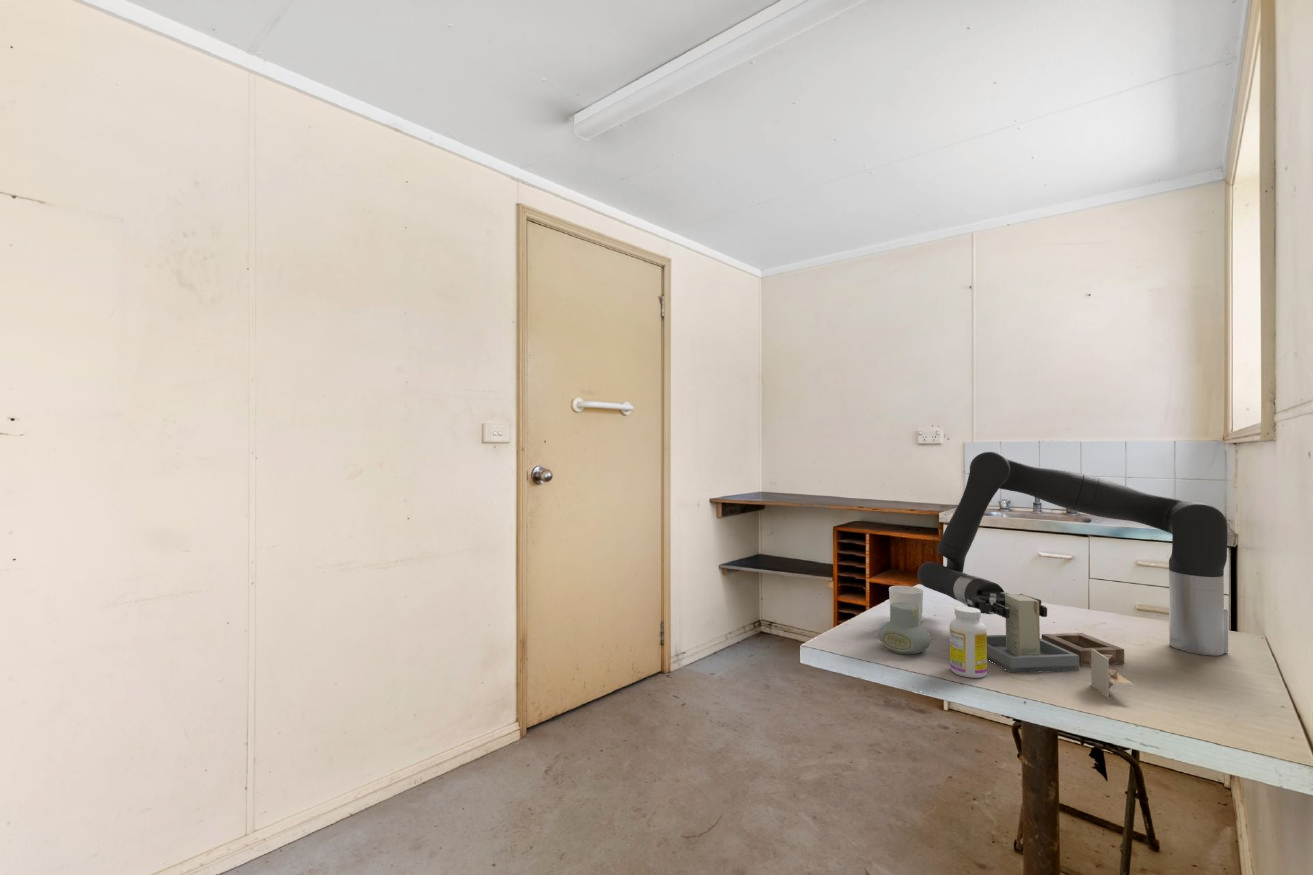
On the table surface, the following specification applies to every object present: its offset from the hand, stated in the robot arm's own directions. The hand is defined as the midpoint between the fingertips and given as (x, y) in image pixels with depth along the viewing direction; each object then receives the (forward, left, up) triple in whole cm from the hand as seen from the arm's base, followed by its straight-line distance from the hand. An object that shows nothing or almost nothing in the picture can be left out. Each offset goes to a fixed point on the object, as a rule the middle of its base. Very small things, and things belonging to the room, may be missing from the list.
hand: (1027, 612), depth 127 cm
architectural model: (-4, +15, -11) cm, 19 cm away
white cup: (+14, -24, -11) cm, 30 cm away
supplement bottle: (+16, +4, -11) cm, 20 cm away
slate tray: (0, -2, -10) cm, 11 cm away
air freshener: (+22, -10, -11) cm, 26 cm away
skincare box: (-1, -2, -10) cm, 10 cm away
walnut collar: (-15, -3, -10) cm, 19 cm away
